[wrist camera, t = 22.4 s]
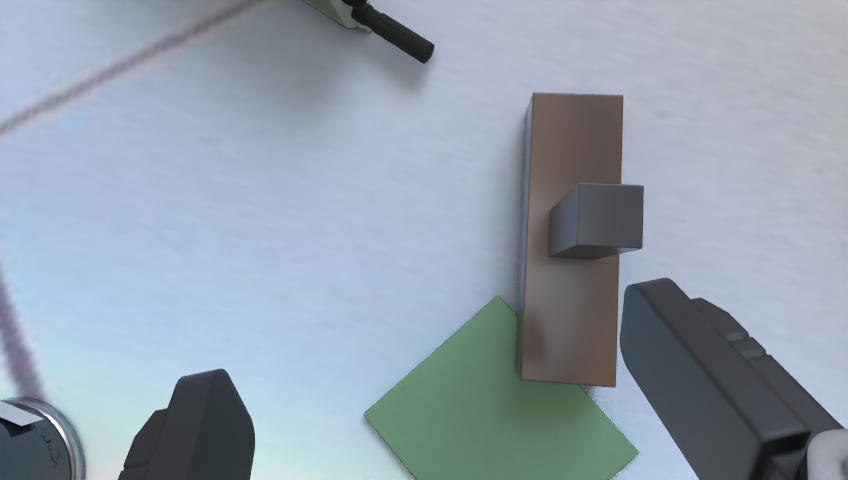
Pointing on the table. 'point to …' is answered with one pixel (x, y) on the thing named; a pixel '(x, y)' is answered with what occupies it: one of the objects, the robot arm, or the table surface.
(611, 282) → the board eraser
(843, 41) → the table surface
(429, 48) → the handheld radio
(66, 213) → the table surface
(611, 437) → the rubber mat
